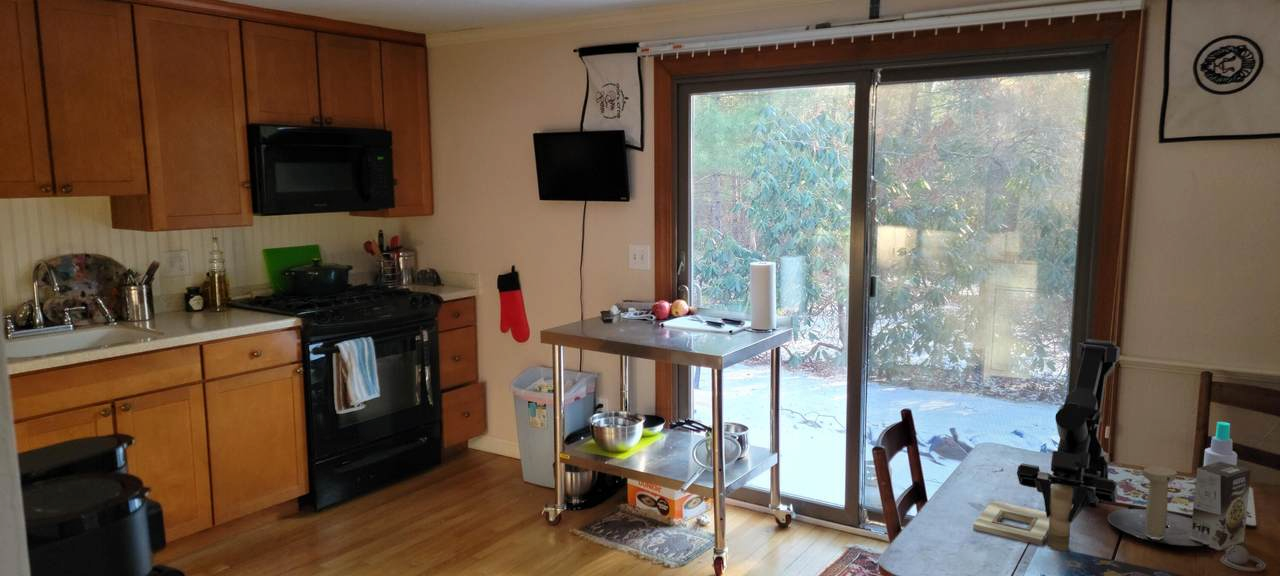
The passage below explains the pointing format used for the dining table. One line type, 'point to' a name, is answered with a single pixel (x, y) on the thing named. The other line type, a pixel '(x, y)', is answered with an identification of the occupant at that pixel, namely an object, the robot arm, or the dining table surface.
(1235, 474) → the grey upright rectangular box
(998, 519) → the socket board
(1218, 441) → the white bottle turquoise cap
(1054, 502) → the peg
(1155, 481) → the handle
